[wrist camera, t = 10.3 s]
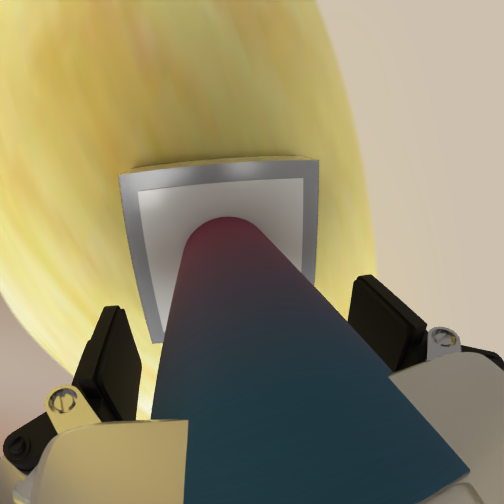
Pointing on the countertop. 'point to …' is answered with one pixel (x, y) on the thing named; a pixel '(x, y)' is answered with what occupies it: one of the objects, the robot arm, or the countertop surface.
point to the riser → (214, 215)
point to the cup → (284, 388)
